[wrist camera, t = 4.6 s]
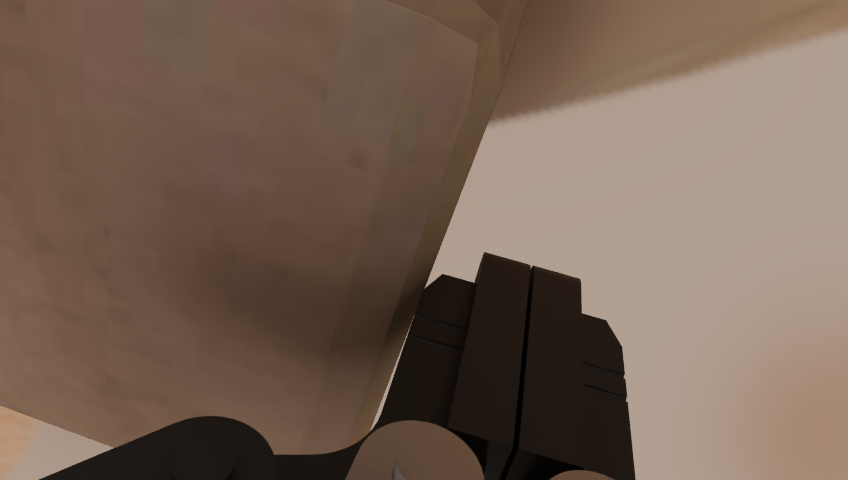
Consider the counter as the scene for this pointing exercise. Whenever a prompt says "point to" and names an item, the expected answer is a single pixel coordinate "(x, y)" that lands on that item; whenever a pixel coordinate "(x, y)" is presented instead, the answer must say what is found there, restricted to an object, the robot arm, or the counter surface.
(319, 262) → the wooden block
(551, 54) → the counter surface
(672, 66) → the counter surface
